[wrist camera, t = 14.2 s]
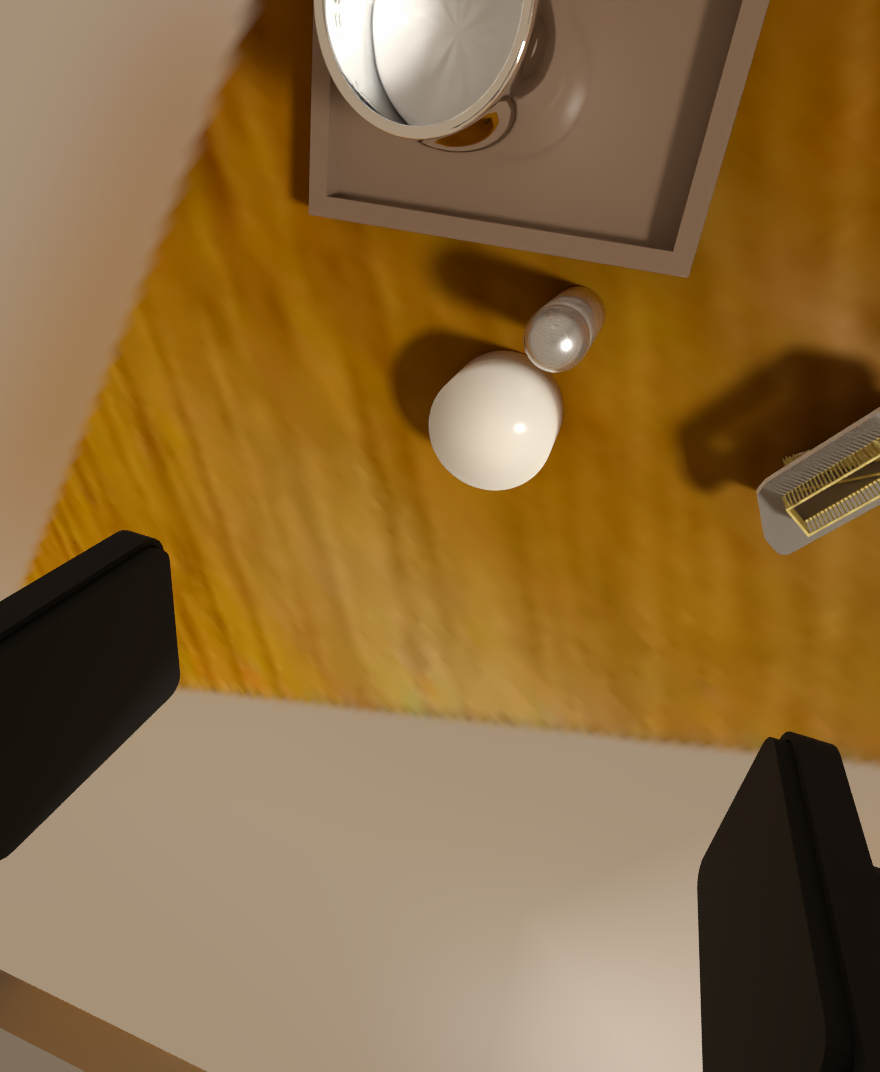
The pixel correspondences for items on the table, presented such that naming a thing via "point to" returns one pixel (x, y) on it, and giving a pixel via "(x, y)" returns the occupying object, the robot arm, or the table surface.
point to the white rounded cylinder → (496, 420)
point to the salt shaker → (564, 329)
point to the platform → (822, 487)
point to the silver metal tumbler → (459, 70)
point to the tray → (567, 147)
